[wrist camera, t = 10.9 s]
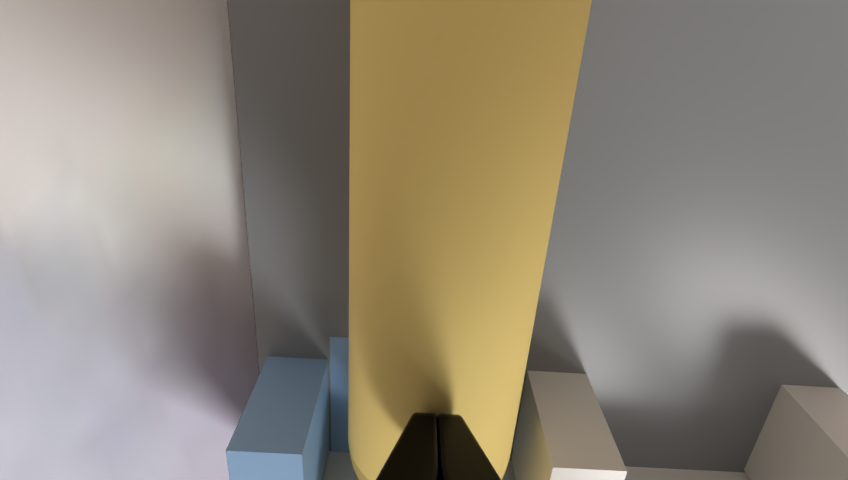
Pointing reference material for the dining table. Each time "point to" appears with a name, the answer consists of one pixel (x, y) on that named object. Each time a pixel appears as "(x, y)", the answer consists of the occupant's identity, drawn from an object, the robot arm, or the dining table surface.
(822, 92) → the capsule display stand
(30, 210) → the dining table surface
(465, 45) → the yellow pill shape
